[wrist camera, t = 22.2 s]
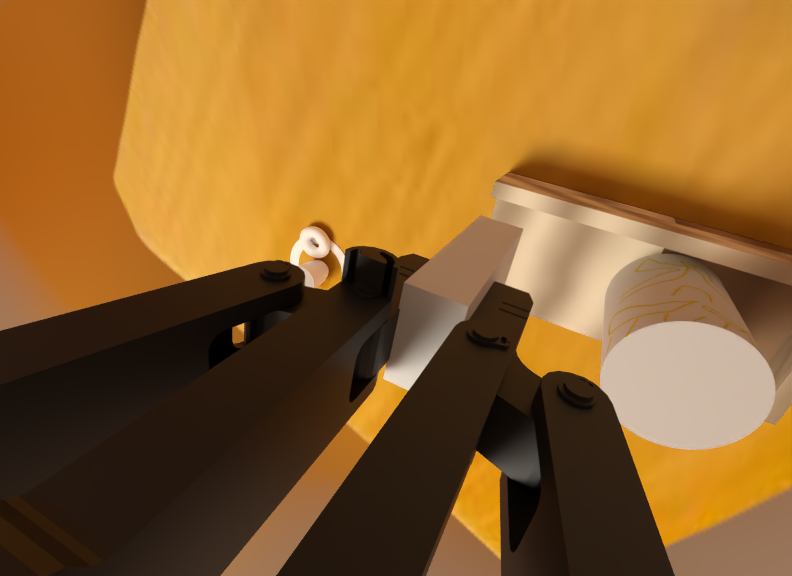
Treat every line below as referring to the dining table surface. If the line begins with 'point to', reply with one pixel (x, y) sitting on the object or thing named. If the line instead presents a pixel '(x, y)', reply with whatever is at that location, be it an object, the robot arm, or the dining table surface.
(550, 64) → the dining table surface
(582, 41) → the dining table surface
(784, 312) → the rail board
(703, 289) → the beige cylinder
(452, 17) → the dining table surface
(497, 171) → the dining table surface
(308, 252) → the white looped ring
